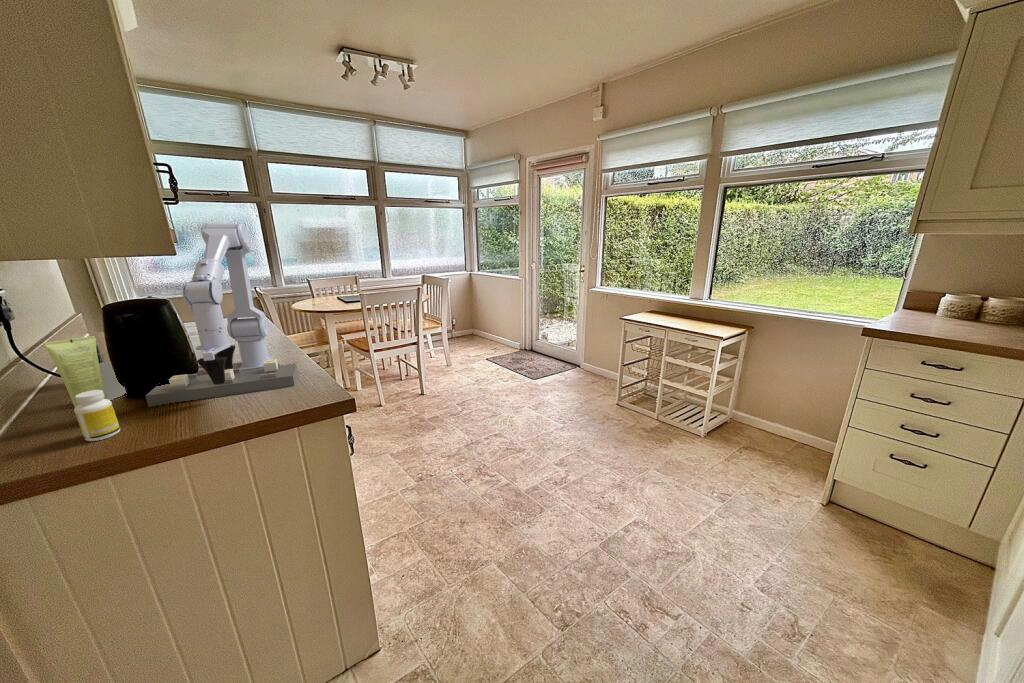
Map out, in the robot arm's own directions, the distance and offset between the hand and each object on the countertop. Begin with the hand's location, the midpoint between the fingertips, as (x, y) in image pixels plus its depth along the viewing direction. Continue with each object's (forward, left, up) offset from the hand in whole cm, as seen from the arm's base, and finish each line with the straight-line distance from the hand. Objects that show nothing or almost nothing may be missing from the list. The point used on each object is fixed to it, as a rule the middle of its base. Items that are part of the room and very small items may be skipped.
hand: (223, 378), depth 100 cm
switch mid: (-2, 0, -1) cm, 3 cm away
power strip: (-4, 0, -4) cm, 6 cm away
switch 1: (-2, -10, -1) cm, 10 cm away
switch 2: (-6, +10, -1) cm, 12 cm away
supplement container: (-26, -38, -5) cm, 46 cm away
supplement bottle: (+15, -19, -5) cm, 24 cm away
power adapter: (-9, -27, -5) cm, 29 cm away
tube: (+5, -24, -5) cm, 25 cm away
